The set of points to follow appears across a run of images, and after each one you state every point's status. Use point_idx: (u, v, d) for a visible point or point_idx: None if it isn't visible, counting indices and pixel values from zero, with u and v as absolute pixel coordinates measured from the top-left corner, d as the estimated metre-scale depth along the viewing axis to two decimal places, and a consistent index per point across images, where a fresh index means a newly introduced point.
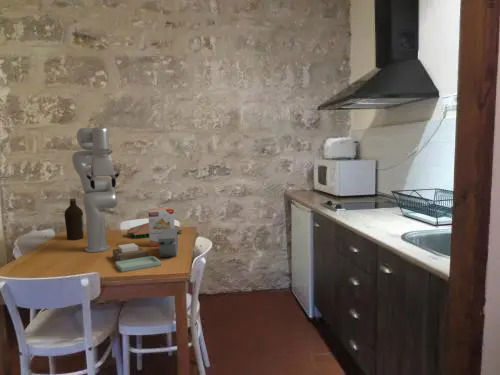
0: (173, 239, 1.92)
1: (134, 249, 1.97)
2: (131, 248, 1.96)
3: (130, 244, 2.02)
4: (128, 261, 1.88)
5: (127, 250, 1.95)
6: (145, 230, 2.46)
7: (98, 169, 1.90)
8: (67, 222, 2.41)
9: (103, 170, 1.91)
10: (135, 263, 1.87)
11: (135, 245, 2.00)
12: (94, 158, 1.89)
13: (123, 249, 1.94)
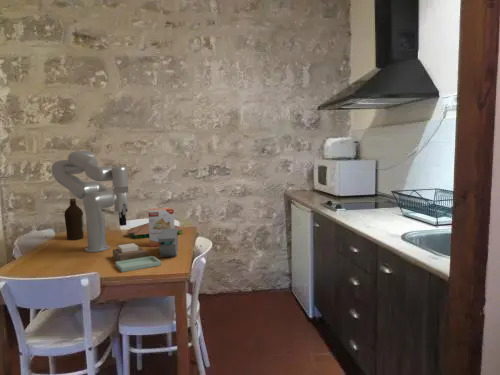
0: (173, 239, 1.92)
1: (134, 249, 1.97)
2: (131, 248, 1.96)
3: (130, 244, 2.02)
4: (128, 261, 1.88)
5: (127, 250, 1.95)
6: (145, 230, 2.45)
7: None
8: (67, 222, 2.41)
9: None
10: (135, 263, 1.87)
11: (135, 245, 2.00)
12: (126, 195, 2.02)
13: (123, 249, 1.94)
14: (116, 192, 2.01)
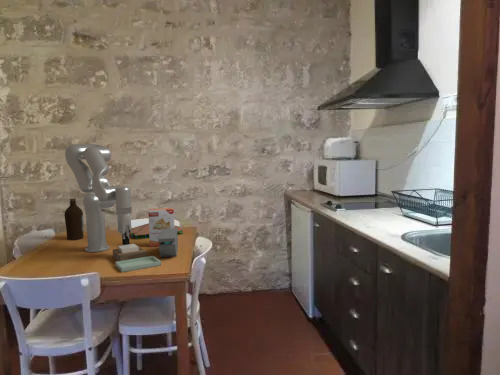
0: (173, 239, 1.92)
1: (134, 250, 1.96)
2: (131, 249, 1.95)
3: (130, 245, 2.01)
4: (128, 261, 1.88)
5: (127, 251, 1.94)
6: (145, 230, 2.45)
7: None
8: (67, 222, 2.41)
9: None
10: (135, 263, 1.87)
11: (135, 246, 1.98)
12: None
13: (123, 250, 1.93)
14: (119, 213, 1.98)
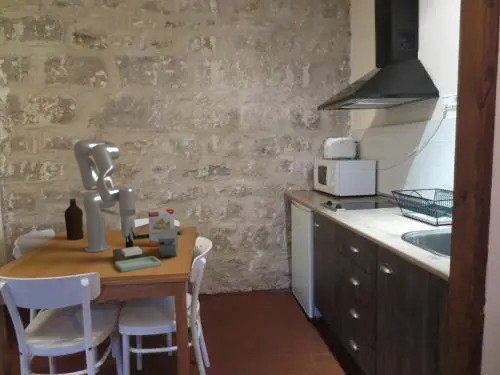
0: (173, 239, 1.92)
1: (138, 253, 1.90)
2: (134, 252, 1.89)
3: (134, 247, 1.95)
4: (128, 261, 1.88)
5: (130, 254, 1.88)
6: (146, 230, 2.44)
7: None
8: (67, 222, 2.41)
9: None
10: (135, 263, 1.87)
11: (139, 249, 1.92)
12: (133, 218, 1.93)
13: (126, 253, 1.87)
14: (123, 215, 1.92)
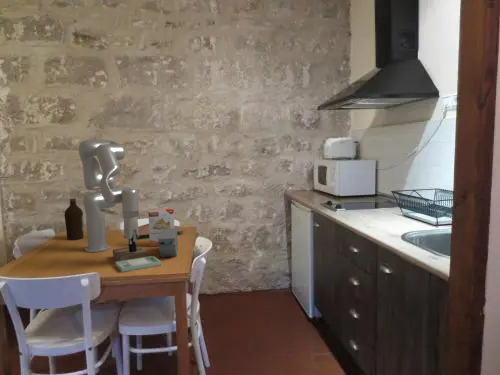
0: (173, 239, 1.92)
1: None
2: None
3: None
4: None
5: None
6: (146, 230, 2.44)
7: None
8: (67, 222, 2.41)
9: None
10: None
11: None
12: (137, 220, 1.88)
13: None
14: (126, 217, 1.87)
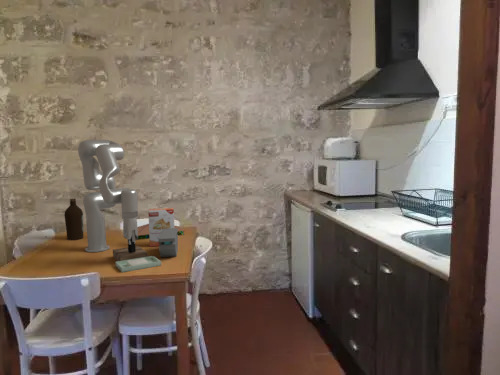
0: (173, 239, 1.92)
1: None
2: None
3: None
4: None
5: None
6: (146, 230, 2.44)
7: None
8: (67, 222, 2.41)
9: None
10: None
11: None
12: (136, 220, 1.89)
13: None
14: (125, 218, 1.88)
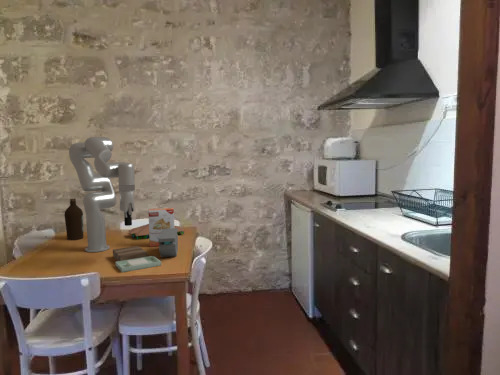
0: (173, 239, 1.92)
1: None
2: None
3: None
4: None
5: None
6: (146, 231, 2.43)
7: None
8: (67, 222, 2.41)
9: None
10: None
11: None
12: None
13: None
14: (122, 191, 1.90)
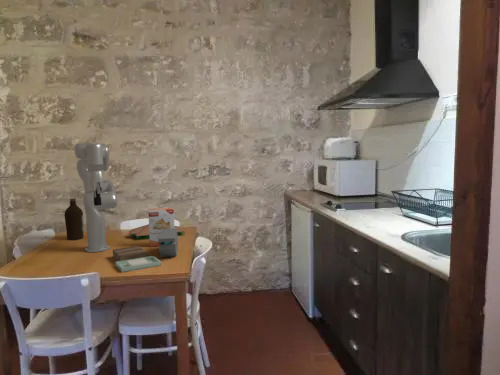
0: (173, 239, 1.92)
1: None
2: None
3: None
4: None
5: None
6: (147, 231, 2.43)
7: None
8: (67, 222, 2.41)
9: None
10: None
11: None
12: (101, 173, 1.93)
13: None
14: (90, 170, 1.92)
